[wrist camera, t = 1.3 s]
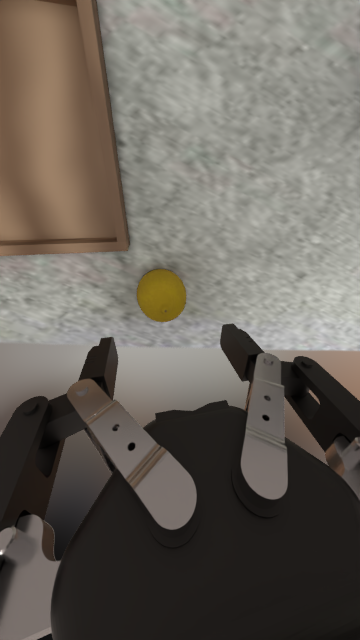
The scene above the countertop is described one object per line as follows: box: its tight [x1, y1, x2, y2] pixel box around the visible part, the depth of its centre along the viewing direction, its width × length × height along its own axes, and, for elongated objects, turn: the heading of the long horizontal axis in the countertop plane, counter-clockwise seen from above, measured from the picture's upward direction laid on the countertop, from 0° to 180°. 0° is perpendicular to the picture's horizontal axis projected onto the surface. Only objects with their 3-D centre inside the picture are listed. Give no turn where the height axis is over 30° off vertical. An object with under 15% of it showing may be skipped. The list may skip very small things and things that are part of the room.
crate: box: [0, 0, 130, 256], centre depth 14 cm, size 16×16×4 cm
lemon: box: [137, 269, 186, 322], centre depth 21 cm, size 6×6×8 cm
